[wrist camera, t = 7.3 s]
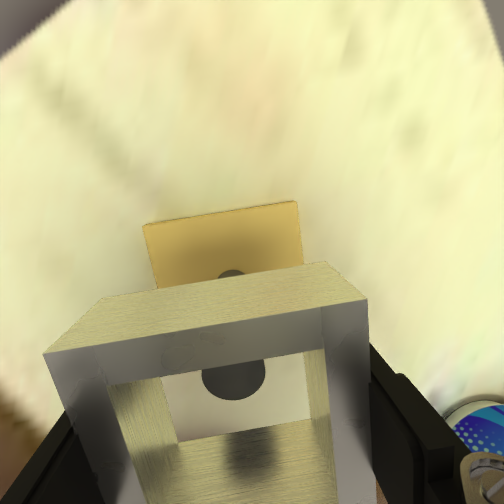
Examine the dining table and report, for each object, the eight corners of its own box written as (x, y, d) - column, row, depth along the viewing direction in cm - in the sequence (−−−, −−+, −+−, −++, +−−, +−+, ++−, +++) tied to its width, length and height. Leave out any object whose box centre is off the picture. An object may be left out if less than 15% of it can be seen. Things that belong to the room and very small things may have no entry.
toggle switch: (308, 331, 22) (368, 452, 12) (178, 353, 21) (135, 495, 12) (293, 200, 19) (355, 222, 10) (146, 224, 19) (57, 270, 9)
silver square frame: (340, 435, 11) (377, 524, 8) (156, 469, 11) (129, 572, 8) (325, 261, 9) (367, 298, 6) (102, 298, 9) (42, 353, 6)
